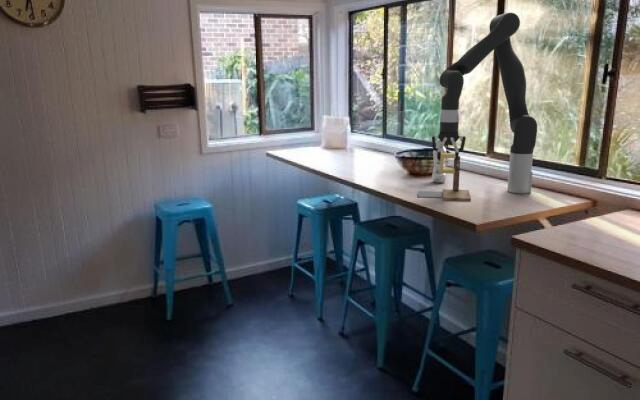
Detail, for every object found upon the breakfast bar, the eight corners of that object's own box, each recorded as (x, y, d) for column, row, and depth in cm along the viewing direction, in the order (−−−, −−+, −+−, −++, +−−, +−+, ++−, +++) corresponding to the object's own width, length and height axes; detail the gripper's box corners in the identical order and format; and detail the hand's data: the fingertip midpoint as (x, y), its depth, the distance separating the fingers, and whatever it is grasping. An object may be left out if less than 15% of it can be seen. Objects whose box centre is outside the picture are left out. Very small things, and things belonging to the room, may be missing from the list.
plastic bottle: (436, 184, 238) (437, 142, 233) (429, 181, 245) (430, 140, 240) (448, 183, 240) (450, 141, 235) (441, 180, 246) (442, 139, 241)
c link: (454, 171, 215) (455, 153, 213) (454, 173, 211) (455, 154, 209) (439, 171, 216) (440, 152, 214) (439, 173, 212) (440, 154, 210)
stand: (468, 192, 222) (470, 156, 218) (470, 201, 208) (472, 162, 204) (442, 191, 224) (444, 155, 220) (443, 200, 210) (444, 162, 206)
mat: (441, 192, 223) (441, 191, 223) (441, 198, 214) (441, 197, 214) (418, 191, 225) (418, 190, 225) (417, 197, 216) (417, 196, 216)
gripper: (467, 119, 210) (464, 159, 214) (431, 119, 213) (430, 158, 217) (468, 121, 203) (465, 162, 207) (431, 121, 206) (429, 162, 210)
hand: (447, 160), depth 212 cm, fingers closed on c link, 6 cm apart
